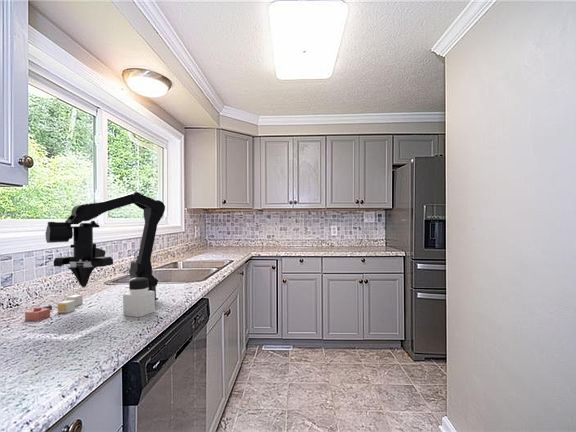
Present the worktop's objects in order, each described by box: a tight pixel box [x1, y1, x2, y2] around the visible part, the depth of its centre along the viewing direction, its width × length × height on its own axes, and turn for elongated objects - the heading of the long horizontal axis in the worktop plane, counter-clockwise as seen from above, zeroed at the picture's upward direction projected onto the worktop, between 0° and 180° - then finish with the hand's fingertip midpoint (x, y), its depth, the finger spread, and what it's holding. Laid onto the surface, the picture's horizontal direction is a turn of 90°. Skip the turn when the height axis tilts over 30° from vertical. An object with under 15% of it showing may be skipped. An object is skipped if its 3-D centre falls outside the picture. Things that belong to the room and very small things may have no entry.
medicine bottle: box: [122, 277, 156, 318], centre depth 115 cm, size 7×7×12 cm
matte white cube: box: [56, 299, 76, 314], centre depth 115 cm, size 4×4×3 cm
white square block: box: [65, 294, 84, 307], centre depth 123 cm, size 4×4×3 cm
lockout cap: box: [24, 306, 51, 322], centre depth 107 cm, size 4×4×5 cm
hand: (83, 286), depth 116 cm, fingers closed
